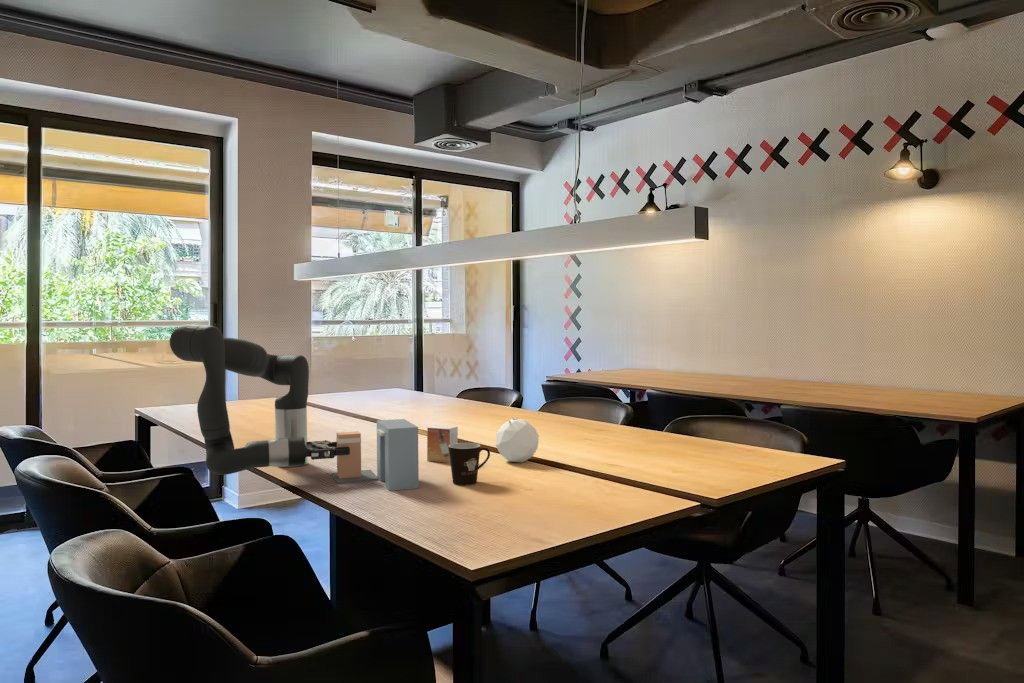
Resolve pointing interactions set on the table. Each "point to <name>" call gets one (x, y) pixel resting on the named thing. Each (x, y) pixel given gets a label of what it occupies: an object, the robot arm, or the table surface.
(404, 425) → the dispenser
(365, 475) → the mat
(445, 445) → the small box
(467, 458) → the coffee mug
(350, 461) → the small cardboard carton
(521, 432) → the geodesic sphere
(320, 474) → the table surface
